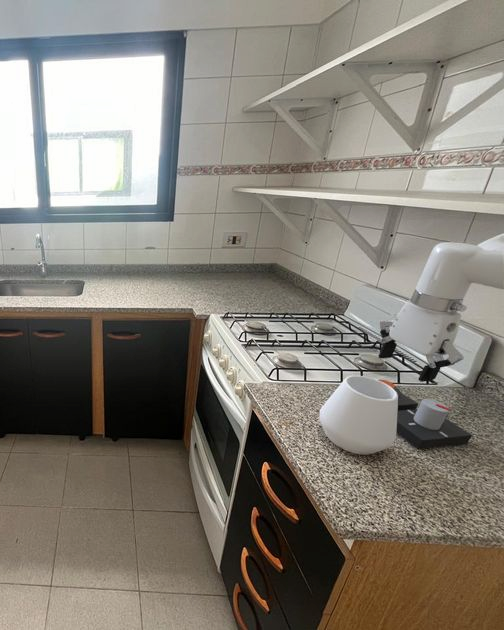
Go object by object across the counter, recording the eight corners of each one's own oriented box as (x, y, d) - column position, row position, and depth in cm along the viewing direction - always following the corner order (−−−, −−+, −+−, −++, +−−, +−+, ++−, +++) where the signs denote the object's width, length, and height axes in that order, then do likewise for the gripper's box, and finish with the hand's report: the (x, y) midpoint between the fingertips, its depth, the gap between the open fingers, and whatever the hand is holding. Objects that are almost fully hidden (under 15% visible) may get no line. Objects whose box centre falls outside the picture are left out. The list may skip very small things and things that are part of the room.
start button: (383, 384, 88) (385, 378, 88) (396, 393, 85) (399, 387, 84) (370, 385, 88) (373, 380, 87) (383, 394, 85) (386, 388, 84)
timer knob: (410, 421, 78) (420, 402, 75) (416, 413, 80) (425, 395, 78) (437, 432, 74) (447, 413, 72) (442, 424, 77) (452, 405, 74)
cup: (384, 474, 68) (411, 418, 62) (307, 439, 76) (324, 387, 70) (391, 437, 76) (416, 386, 71) (321, 410, 85) (338, 362, 79)
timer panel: (425, 416, 83) (429, 407, 82) (467, 443, 75) (472, 434, 74) (380, 420, 82) (384, 411, 80) (418, 449, 73) (423, 439, 72)
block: (382, 388, 93) (387, 376, 91) (415, 410, 85) (421, 397, 83) (344, 391, 92) (349, 379, 90) (374, 414, 83) (380, 401, 82)
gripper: (498, 317, 67) (458, 389, 74) (409, 286, 82) (383, 349, 89) (466, 319, 66) (428, 392, 73) (382, 288, 81) (357, 351, 88)
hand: (403, 368), depth 81 cm, fingers open, 9 cm apart
